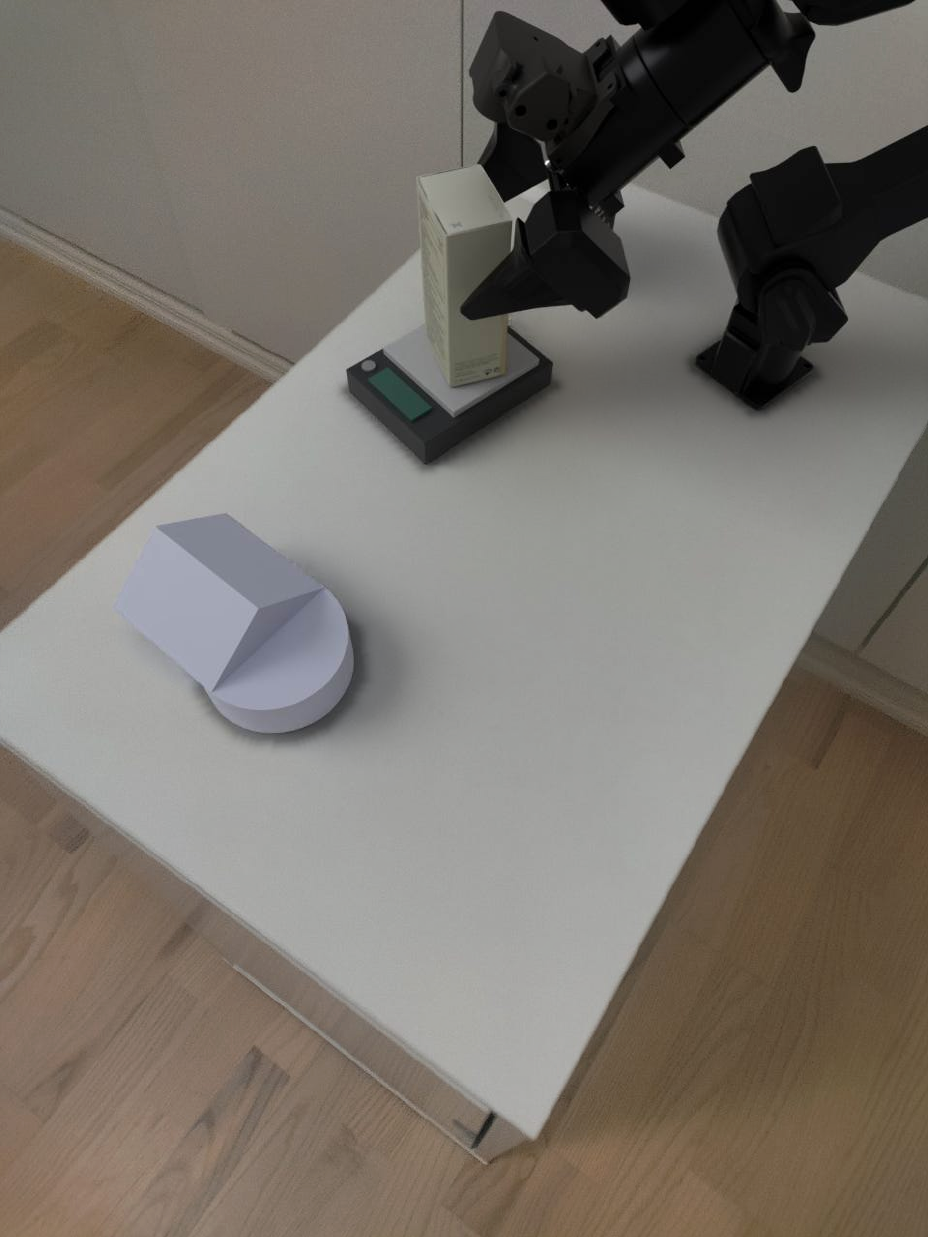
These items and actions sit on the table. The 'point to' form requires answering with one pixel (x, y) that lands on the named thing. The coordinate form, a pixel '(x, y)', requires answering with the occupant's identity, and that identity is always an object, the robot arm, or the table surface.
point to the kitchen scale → (442, 392)
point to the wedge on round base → (241, 623)
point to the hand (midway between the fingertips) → (459, 265)
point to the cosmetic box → (462, 269)
